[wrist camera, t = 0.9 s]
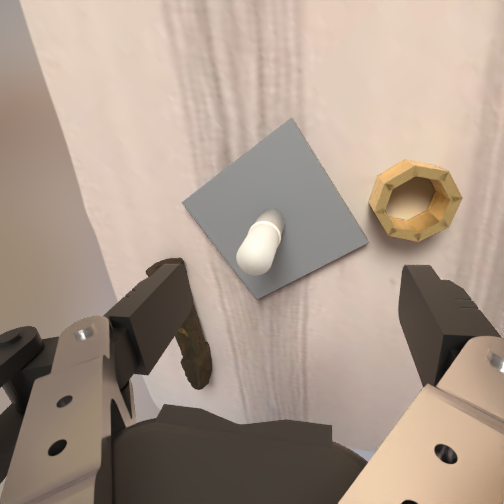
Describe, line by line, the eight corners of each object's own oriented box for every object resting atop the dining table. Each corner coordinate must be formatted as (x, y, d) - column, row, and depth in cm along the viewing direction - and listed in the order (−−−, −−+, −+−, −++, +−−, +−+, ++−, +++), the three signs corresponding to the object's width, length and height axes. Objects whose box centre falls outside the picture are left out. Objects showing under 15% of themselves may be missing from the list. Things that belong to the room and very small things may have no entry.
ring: (424, 147, 26) (438, 151, 23) (454, 204, 28) (471, 216, 25) (359, 186, 29) (363, 195, 26) (389, 237, 30) (397, 251, 27)
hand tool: (156, 256, 37) (136, 274, 33) (185, 254, 36) (168, 272, 32) (194, 370, 45) (181, 396, 40) (219, 371, 44) (208, 398, 39)
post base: (292, 117, 27) (277, 119, 18) (366, 238, 31) (386, 289, 22) (186, 199, 33) (135, 231, 24) (258, 294, 36) (237, 354, 27)
